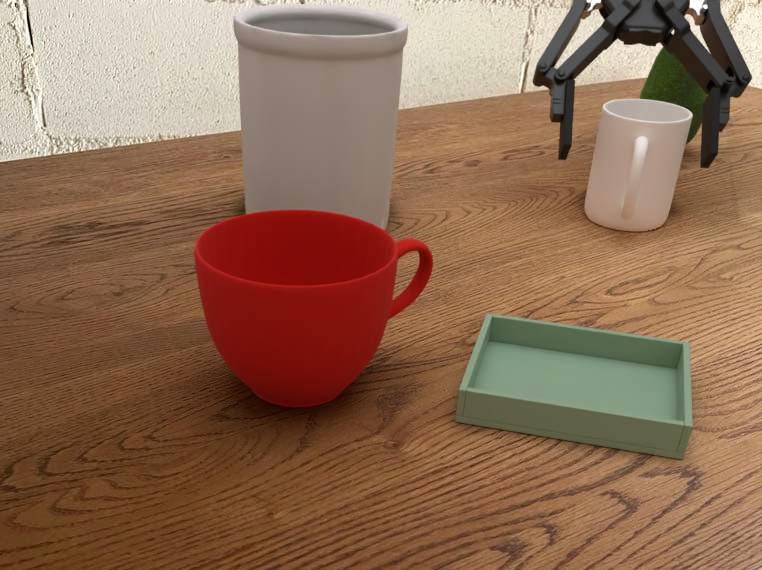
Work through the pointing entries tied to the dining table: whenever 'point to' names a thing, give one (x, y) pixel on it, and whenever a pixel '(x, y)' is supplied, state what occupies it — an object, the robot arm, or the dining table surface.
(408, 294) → the ceramic cup
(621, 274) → the dining table surface
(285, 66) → the utensil holder
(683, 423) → the sage green tray
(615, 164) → the cup
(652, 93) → the avocado
